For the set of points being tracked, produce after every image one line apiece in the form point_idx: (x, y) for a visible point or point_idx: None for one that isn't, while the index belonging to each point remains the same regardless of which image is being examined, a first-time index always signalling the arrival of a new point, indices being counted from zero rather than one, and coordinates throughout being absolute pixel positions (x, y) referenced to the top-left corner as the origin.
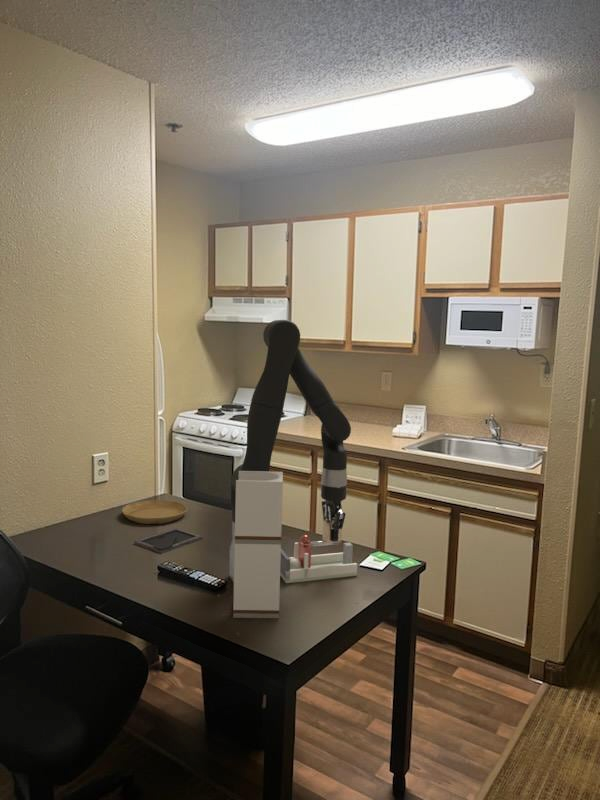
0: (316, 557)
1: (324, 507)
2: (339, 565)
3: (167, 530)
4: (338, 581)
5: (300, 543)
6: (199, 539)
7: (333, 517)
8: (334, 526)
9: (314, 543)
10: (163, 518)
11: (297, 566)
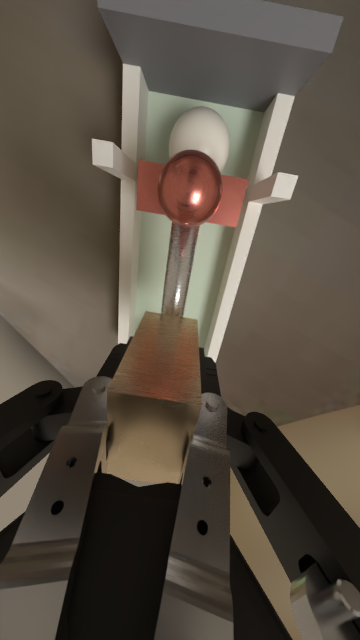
0: (226, 281)
1: (331, 566)
2: (122, 309)
3: None
4: (105, 279)
5: (221, 174)
6: None
7: (179, 477)
8: (23, 399)
9: (169, 253)
10: None
11: (169, 148)
